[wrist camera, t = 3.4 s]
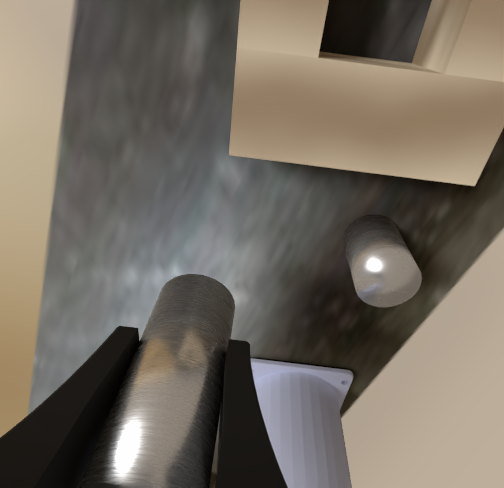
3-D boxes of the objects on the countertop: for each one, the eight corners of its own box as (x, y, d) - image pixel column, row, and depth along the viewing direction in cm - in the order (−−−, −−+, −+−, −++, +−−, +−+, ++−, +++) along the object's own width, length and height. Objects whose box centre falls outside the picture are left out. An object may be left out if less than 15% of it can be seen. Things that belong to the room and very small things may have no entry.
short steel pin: (387, 263, 21) (407, 311, 17) (336, 255, 21) (347, 302, 17) (406, 219, 19) (432, 263, 16) (351, 211, 19) (366, 252, 16)
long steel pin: (231, 335, 15) (201, 545, 9) (160, 326, 15) (83, 531, 9) (238, 279, 13) (206, 491, 7) (158, 269, 13) (61, 474, 7)
